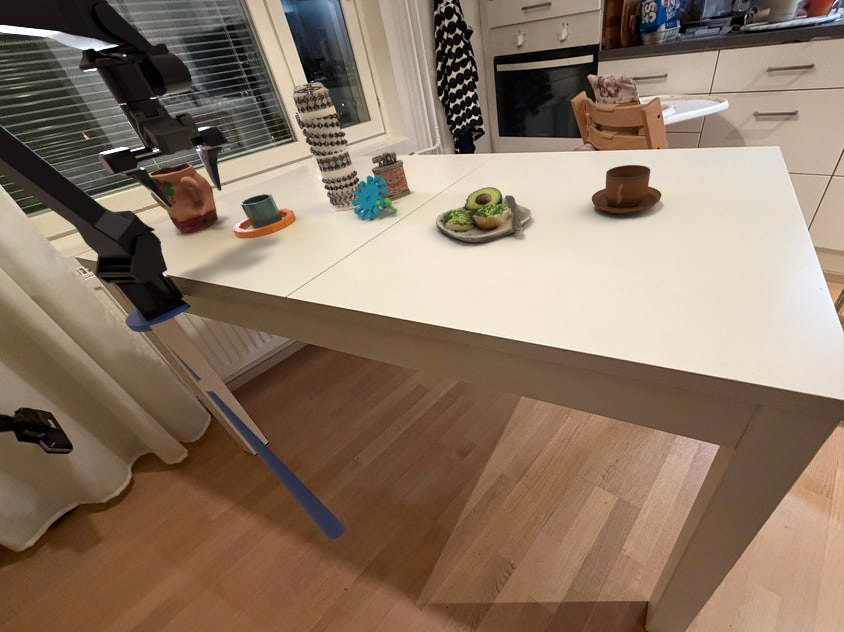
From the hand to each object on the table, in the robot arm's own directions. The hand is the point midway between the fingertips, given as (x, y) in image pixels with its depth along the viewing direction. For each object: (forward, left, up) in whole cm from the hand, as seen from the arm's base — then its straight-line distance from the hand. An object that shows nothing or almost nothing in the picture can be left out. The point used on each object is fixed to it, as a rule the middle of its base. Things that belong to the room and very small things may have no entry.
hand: (195, 198), depth 74 cm
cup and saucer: (+50, -62, -12) cm, 81 cm away
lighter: (+39, -8, -12) cm, 42 cm away
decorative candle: (+31, +1, -12) cm, 33 cm away
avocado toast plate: (+34, -41, -12) cm, 55 cm away
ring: (+13, +11, -12) cm, 21 cm away
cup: (+14, +11, -12) cm, 21 cm away
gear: (+29, -13, -12) cm, 34 cm away
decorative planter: (+6, +31, -12) cm, 34 cm away
